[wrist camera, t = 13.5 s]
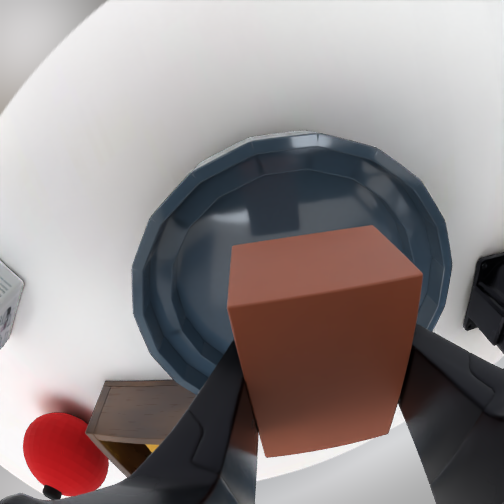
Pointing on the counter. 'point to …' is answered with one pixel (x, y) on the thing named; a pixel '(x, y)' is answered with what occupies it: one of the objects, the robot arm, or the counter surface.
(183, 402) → the holder
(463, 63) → the counter surface
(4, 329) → the container
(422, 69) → the counter surface
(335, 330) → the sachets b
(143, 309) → the bowl
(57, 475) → the ornament
